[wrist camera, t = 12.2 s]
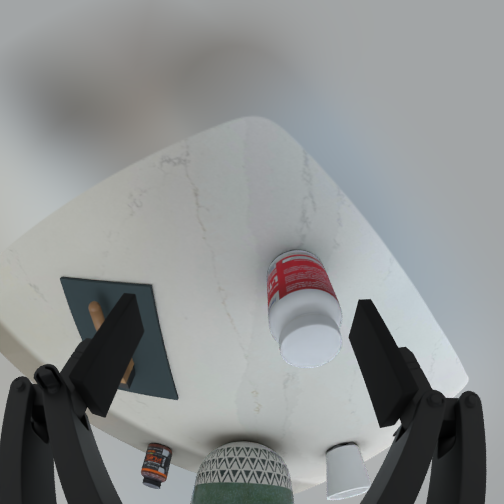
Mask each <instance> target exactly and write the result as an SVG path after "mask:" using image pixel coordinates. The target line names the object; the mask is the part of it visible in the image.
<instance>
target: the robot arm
mask: <svg viewBox="0 0 504 504" xmlns="http://www.w3.org/2000/svg"><path fill="white" fill-rule="evenodd" d="M144 332H145V331H144V327H143V323H142V319H141V315H140V311H139V307H138V303H137V298H136V294H131V293H123V295H122V296H121V298H120V299H119V300H118V302H117V303H116V305H115V306H114V307H113V309H112V310H111V312H110V313H109V315H108V316H107V317H106V319H105V320H104V322H103V323H102V325H101V326H100V328H99V329H98V331H97V332H96V334H95V335H94V337H93V338H92V339H90V338H86V339H85V340H83V341H82V342H81V343H79V345H78V346H77V348H76V349H75V352H73V354H72V355H71V357H70V358H69V360H68V361H67V363H66V364H65V366H64V368H63V369H62V371H61V372H60V373H59V371H58V370H57V368H56V367H55V366H54V365H51V364H45V365H43V366H40V367H39V368H38V369H37V370H36V372H35V373H34V379H35V381H36V382H37V384H32V383H31V382H30V380H29V379H28V378H27V377H23V376H22V377H18V378H16V379H15V380H14V381H13V382H12V384H11V386H10V390H9V394H8V399H7V403H6V409H5V414H4V419H3V425H2V433H1V440H0V504H57V503H56V493H55V481H54V461H55V464H56V468H57V472H58V476H59V479H60V482H61V485H62V488H63V491H64V494H65V497H66V500H67V502H68V504H122V502H121V500H120V498H119V496H118V494H117V492H116V490H115V488H114V486H113V484H112V481H111V479H110V477H109V475H108V472H107V470H106V467H105V465H104V463H103V460H102V458H101V455H100V452H99V450H98V447H97V445H96V441H95V439H94V436H93V433H92V430H91V427H90V423H89V420H88V417H87V415H86V413H85V411H86V409H87V407H88V408H89V410H90V411H91V413H92V414H95V415H98V416H102V417H106V415H107V413H108V410H109V408H110V405H111V403H112V401H113V398H114V396H115V394H116V392H117V389H118V387H119V385H120V383H121V380H122V378H123V376H124V374H125V372H126V369H127V367H128V365H129V363H130V361H131V359H132V357H133V354H134V352H135V350H136V348H137V346H138V344H139V342H140V340H141V338H142V336H143V334H144ZM349 340H350V342H351V345H352V348H353V350H354V353H355V356H356V358H357V361H358V364H359V367H360V369H361V372H362V375H363V378H364V381H365V384H366V387H367V389H368V392H369V395H370V398H371V401H372V404H373V407H374V410H375V414H376V417H377V420H378V423H379V426H380V428H382V427H387V426H392V425H395V423H396V422H397V421H398V419H399V418H400V421H401V426H400V427H399V428H398V429H397V431H396V432H395V433H394V435H393V436H395V435H396V436H395V439H394V441H393V443H392V445H391V448H390V450H389V452H388V454H387V456H386V458H385V460H384V462H383V464H382V466H381V468H380V470H379V472H378V474H377V476H376V477H375V479H374V481H373V483H372V485H371V486H370V488H369V490H368V492H367V494H366V495H365V497H364V498H363V500H362V501H361V503H360V504H414V502H415V500H416V498H417V496H418V493H419V491H420V489H421V486H422V484H423V481H424V479H425V476H426V474H427V471H428V468H429V465H430V462H431V460H432V467H431V476H430V484H429V491H428V497H427V503H426V504H485V493H486V443H485V429H484V419H483V411H482V404H481V400H480V398H479V396H478V395H477V394H475V393H474V392H471V391H466V392H464V393H462V395H461V396H460V397H459V398H445V396H444V395H443V394H442V393H441V392H439V391H437V390H433V389H432V388H431V386H430V384H429V382H428V380H427V378H426V376H425V374H424V373H423V371H422V369H421V368H420V365H419V363H418V362H417V360H416V358H415V356H414V354H413V353H412V352H411V351H410V350H409V349H408V348H406V347H401V348H398V346H397V345H396V343H395V341H394V339H393V337H392V335H391V334H390V332H389V330H388V328H387V326H386V325H385V323H384V321H383V319H382V318H381V316H380V314H379V312H378V311H377V309H376V307H375V305H374V304H373V302H372V300H371V299H364V300H358V304H357V308H356V312H355V316H354V320H353V323H352V327H351V330H350V334H349Z"/></svg>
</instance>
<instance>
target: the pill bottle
mask: <svg viewBox="0 0 504 504" xmlns="http://www.w3.org/2000/svg"><path fill="white" fill-rule="evenodd" d="M267 294H268V316H269V327H270V331H271V334H272V336H273V337H274V339H275V340H276V341H277V342H278V343H279V346H280V353H281V356H282V358H283V359H284V360H285V361H286V362H287V363H289V364H290V365H292V366H295V367H299V368H313V367H317V366H321V365H323V364H325V363H327V362H329V361H330V360H332V359H333V358H334V357H335V356H336V355H337V354H338V353H339V351H340V349H341V346H342V337H341V334H340V330H339V329H340V327H341V323H342V311H341V307H340V304H339V302H338V300H337V297H336V295H335V292H334V290H333V288H332V285H331V283H330V280H329V278H328V275H327V273H326V271H325V268H324V266H323V264H322V263H321V261H320V260H319V259H318V258H317V257H316V256H315V255H313V254H312V253H310V252H307V251H302V250H293V251H289V252H286V253H283V254H281V255H280V256H278V257H277V258H276V259H275V260H274V261H273V262H272V264H271V265H270V267H269V269H268V273H267Z"/></svg>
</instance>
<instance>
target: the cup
mask: <svg viewBox="0 0 504 504" xmlns="http://www.w3.org/2000/svg"><path fill="white" fill-rule="evenodd" d="M326 465H327V499H328V500H339V499H345V498H350V497H353V496H357V495H360V494H363V493H365V492H367V491H368V490H369V488H370V486H371V485H372V484H371V481H370V478H369V475H368V473H367V469H366V467H365V464H364V461H363V458H362V455H361V452H360V449H359V447H358V446H357V445H355V444H354V443H352V442H350V443H348V444H346V445H344V446H341V445H336V446H334V447H333V449H332V450H329V451H327V453H326Z"/></svg>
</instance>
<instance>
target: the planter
mask: <svg viewBox="0 0 504 504" xmlns="http://www.w3.org/2000/svg"><path fill="white" fill-rule="evenodd" d="M190 504H294V498H293V491H292V483H291V478H290V474H289V471H288V468H287V466H286V464H285V462H284V461H283V459H282V458H281V457H280V456H279V455H278V454H277V453H276V452H274V451H273V450H271V449H270V448H268V447H266V446H264V445H262V444H258V443H254V442H245V441H241V442H232V443H228V444H225V445H223V446H220V447H218V448H217V449H215V450H213V451H212V452H211V453H210V454H208V455H207V457H206V458H205V459H204V460H203V462H202V464H201V466H200V468H199V470H198V473H197V476H196V481H195V485H194V490H193V494H192V498H191V503H190Z"/></svg>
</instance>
